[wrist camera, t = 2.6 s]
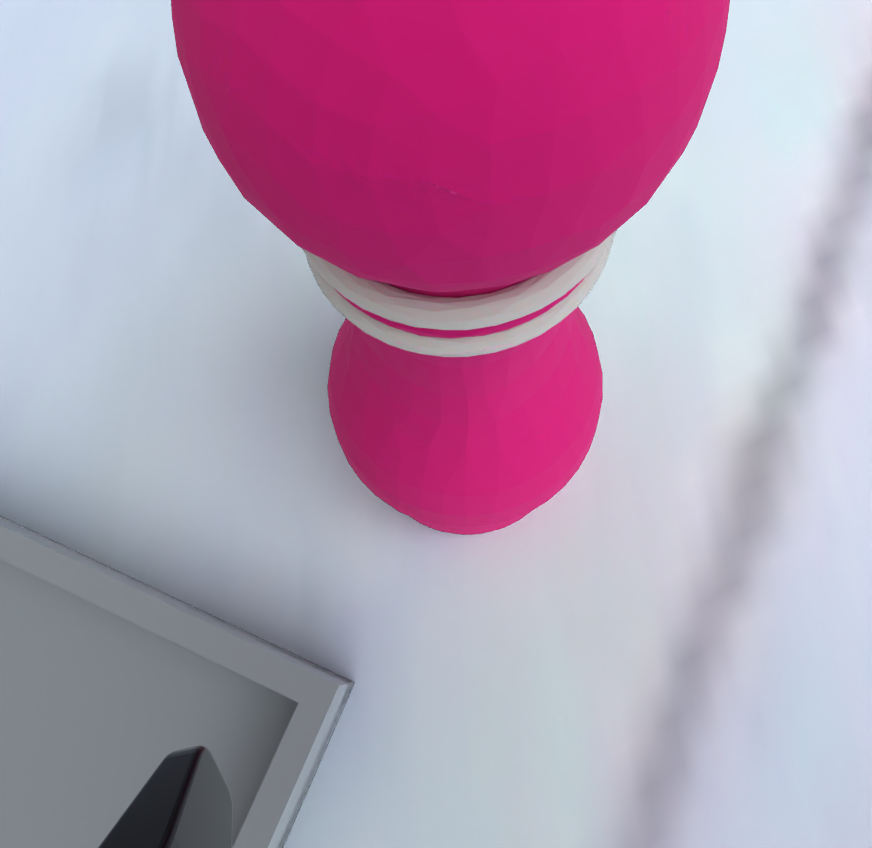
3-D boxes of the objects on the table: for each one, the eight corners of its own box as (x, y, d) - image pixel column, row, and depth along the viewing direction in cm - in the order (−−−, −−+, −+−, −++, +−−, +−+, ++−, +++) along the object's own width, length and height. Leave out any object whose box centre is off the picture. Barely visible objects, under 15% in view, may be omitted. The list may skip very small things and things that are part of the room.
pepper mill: (621, 420, 23) (1306, -709, 4) (488, 599, 21) (582, 127, 2) (447, 303, 25) (352, -875, 6) (312, 460, 23) (-435, -450, 4)
